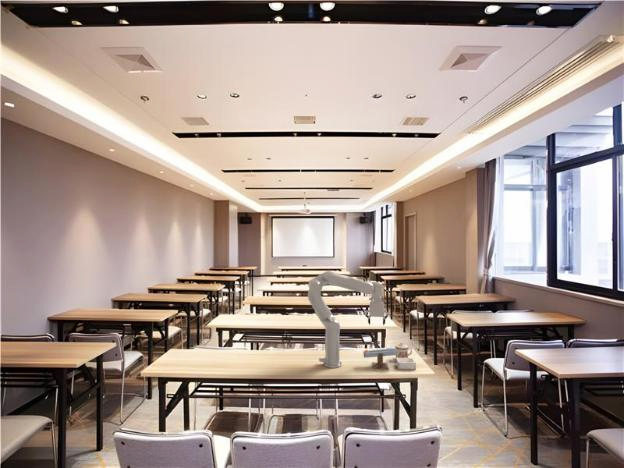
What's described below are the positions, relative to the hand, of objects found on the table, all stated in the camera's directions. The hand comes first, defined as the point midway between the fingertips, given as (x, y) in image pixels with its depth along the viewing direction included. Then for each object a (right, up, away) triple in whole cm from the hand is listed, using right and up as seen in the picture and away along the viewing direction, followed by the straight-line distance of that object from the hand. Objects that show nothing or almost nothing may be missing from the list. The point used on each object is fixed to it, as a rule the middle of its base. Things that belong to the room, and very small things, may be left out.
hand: (376, 324), depth 252 cm
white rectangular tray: (+18, -26, -10) cm, 33 cm away
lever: (+1, -19, -4) cm, 19 cm away
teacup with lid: (+20, -26, +6) cm, 34 cm away
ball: (-8, -17, -7) cm, 20 cm away
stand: (+1, -26, -8) cm, 27 cm away
